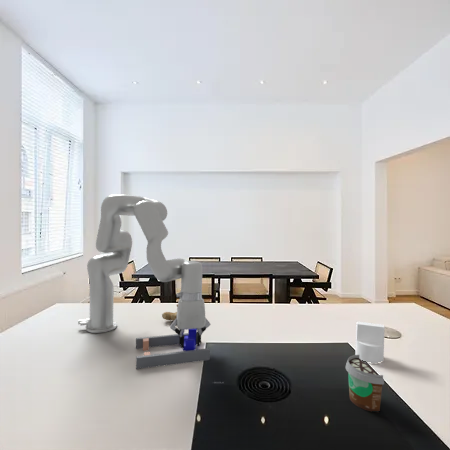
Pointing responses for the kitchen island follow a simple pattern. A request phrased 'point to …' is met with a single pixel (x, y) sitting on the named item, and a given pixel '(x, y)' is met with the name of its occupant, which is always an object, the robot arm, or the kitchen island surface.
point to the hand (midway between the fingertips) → (190, 345)
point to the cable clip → (190, 340)
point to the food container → (364, 384)
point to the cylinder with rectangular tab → (370, 341)
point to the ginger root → (169, 315)
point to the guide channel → (167, 358)
